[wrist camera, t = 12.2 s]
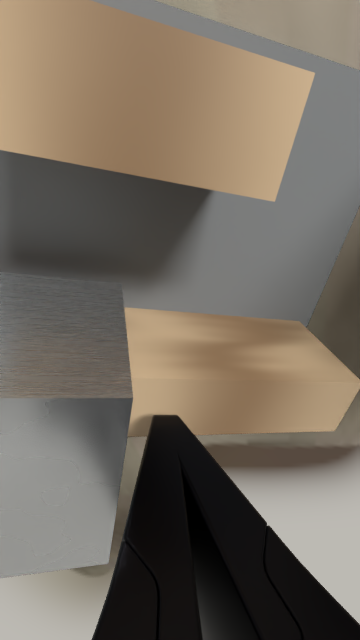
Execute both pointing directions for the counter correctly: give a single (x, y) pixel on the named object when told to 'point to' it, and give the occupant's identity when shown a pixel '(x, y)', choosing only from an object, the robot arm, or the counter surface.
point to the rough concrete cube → (61, 420)
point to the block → (183, 168)
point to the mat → (198, 208)
